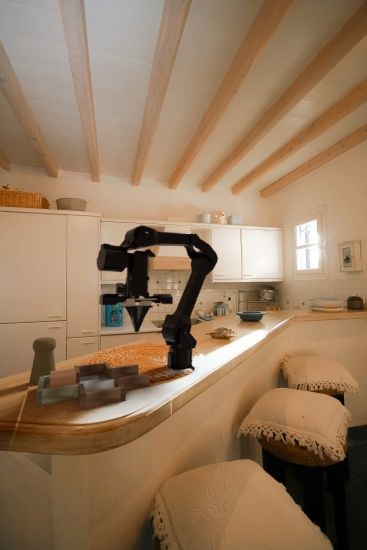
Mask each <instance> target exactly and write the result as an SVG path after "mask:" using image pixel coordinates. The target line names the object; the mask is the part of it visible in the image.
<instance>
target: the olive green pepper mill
mask: <svg viewBox="0 0 367 550" xmlns="http://www.w3.org/2000/svg"><path fill="white" fill-rule="evenodd" d="M56 347H57V341H56V339H55V338H54V337H51V336H49V337H48V336H46V337H45V336H44V337H39V338H36V339H34V341H33V342H32V350H33V351H34V356H33V360H32V366H31V372H30V376H29V382H28V386H29V387H31V385H36V386H38V383H39V378H40V376H47V375H50V374H51V371H57V370H56V363H55V361H56V360H55V353H54V351H55V349H56Z"/></svg>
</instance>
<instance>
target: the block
mask: <svg viewBox="0 0 367 550" xmlns="http://www.w3.org/2000/svg"><path fill="white" fill-rule="evenodd" d="M75 384H76V371H75V368H74V367H73V368H67V369H59V370H58V369H57V370H56V371H51V374H50V388H55V387H61V386H68V385H75Z"/></svg>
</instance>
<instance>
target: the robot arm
mask: <svg viewBox="0 0 367 550" xmlns="http://www.w3.org/2000/svg"><path fill="white" fill-rule="evenodd" d="M157 246H158V247H184V248H185V251H186V255H187V257H188V258H189V259H190V269H191V273H190V275H189V277H188V279H187V282H186V284H185V287H184V290H183V292H182V293H181V296H180V298H179V302H178V303H177V307H176V309H175V311H174V312H173V313H172V314H171V313H170V314H169V313H167V314H166V315H165V318H164V321H163V322H162V324H161V325H160V327H161V331H160V333H161V337H162V338H163V340H164V342H165V346H168V352H167V364H166V366H167V367H168V368H169V369H172V370H173V371H183V370H188V369H189V370H194V369H195V368H196V367H195V366H194V365H193V349H196V347H197V344H198V341H197V339H196V338H195V337H194V335H192V334H191V331H192V330H191V329H192V320H191V316H192V314H193V311H194V309H195V306H196V304H197V301H198V298H199V295H200V292H202V291H201V290H202V288H203V285H204V282H205V281H206V278H207V276H208V275H209V274H210V273H211V272H212V271H213V270H214V268H215V267H216V265H217V264H218V260H219V257H218V254H217V252H216V251H215V249H214V248H213V247H212V246H211V245H210V244H209V243H208V242H207V241H205V240H203V239H201V237H200V236H199V235H198V234H197V233H196V232H190V233H189V232H176V231H173V232H172V231H160V230H157V229H156V228H154V227H151V226H147V225H143V224H142V225H138V226H135V227H133V228H131V229H129V230H127V231H126V232H125V235H124V239H123V241H122V242H121V243H120V244H119V245H115V244H109V243H101V244H100V249H99V251H98V254H97V257H96V267H97V270H98V271H99V272H109V273H110V272H111V273H112V272H113V273H114V272H115V273H122V272H124V271H125V269H126V277H125V283H123V282H116V283H115V293H101V294H100V295H99V300H98V301H99V302H98V304H99V305H101V306H116V305H118V304H119V303H122V305H121V308H123V309H126V312H127V314H128V315H129V318H130V321H131V324H132V328H133V331H134V332H135V333H139V331H140V330H141V327H142V324H143V322H144V321H145V320H144V319H145V318H146V316H147V314H148V312H149V310H150V309H151V308H152V309H153V308H154V306H153V305H152V303H154V304H162V305H173V304H174V302H173V301H174V298H173V295H172V294H171V293H153V294H152V295H150V292H149V281H150V278H151V277H150V276H149V259H152V258H153V259H154V258H156V254H155V253H154V252H153V251H152V250H151V247H157ZM195 248H196V249H197V250H196V249H195ZM141 249H145V250H141ZM132 250H133V252H130V251H132ZM140 297H141V298H140ZM136 303H138V304H136Z"/></svg>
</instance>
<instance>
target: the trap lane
mask: <svg viewBox="0 0 367 550" xmlns="http://www.w3.org/2000/svg"><path fill="white" fill-rule="evenodd" d="M139 367H140V366H139V364H138V363H135V364H126V365H119V366H112V367H111V365H110V363H109V361H105V362H96V363H90V364H89V363H88V364H80V365H78V364H77V365H74V366H73V369H74V368H75V371H76V384H75V385H68V386H61V387H55V388H50V375H47V376H40V378H39V383H38V385H37V387H36V393H35V407H36V406H42V405H48V404H54V403H59V402H65V401H70V400H75V399H78V400H77V401H78V406H79V410H84V409H90V408H95V407H99V406H105V405H109V404H110V405H111V404H114V403H115V404H116V403H120V402H126V399H127V398H126V395H127V394H126V393H127V390H133V389H139V388H145V387H146V388H147V387H151V386H150V385H151V384H150V383H151V382H150V381H151V380H150V378H151V377H150V376H151V375H150V374H149V373H143V374H139V371H140V369H139Z"/></svg>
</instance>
